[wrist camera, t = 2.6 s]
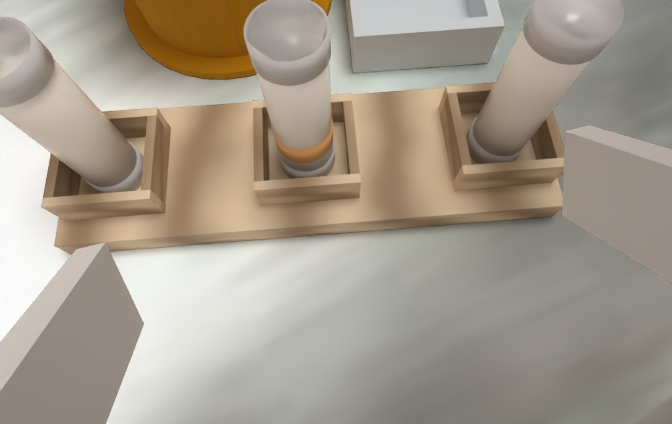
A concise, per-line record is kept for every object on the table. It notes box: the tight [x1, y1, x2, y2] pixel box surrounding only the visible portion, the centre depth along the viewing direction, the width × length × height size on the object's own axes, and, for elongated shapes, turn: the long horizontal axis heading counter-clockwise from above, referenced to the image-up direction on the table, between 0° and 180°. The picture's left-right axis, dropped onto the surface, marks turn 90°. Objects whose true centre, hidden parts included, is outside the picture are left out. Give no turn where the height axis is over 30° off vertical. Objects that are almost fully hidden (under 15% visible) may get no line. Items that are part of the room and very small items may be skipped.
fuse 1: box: [0, 17, 144, 193], centre depth 25 cm, size 4×4×12 cm
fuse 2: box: [466, 0, 624, 164], centre depth 25 cm, size 4×4×12 cm
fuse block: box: [41, 82, 564, 254], centre depth 30 cm, size 34×10×4 cm, turn 94°
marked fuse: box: [243, 0, 335, 179], centre depth 25 cm, size 4×4×12 cm
